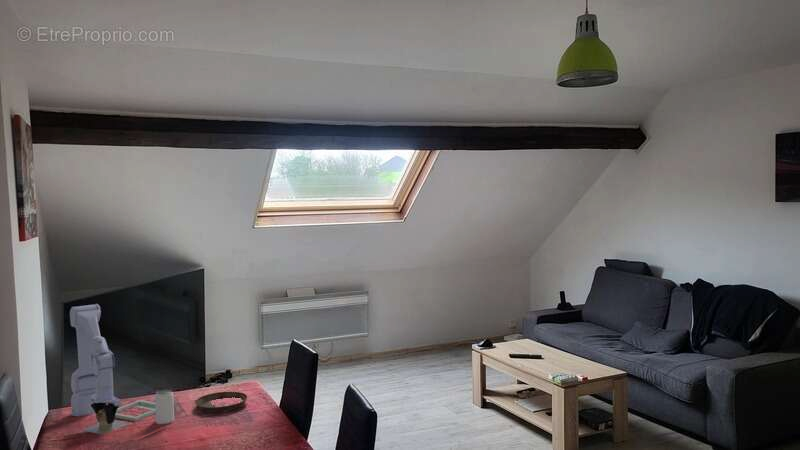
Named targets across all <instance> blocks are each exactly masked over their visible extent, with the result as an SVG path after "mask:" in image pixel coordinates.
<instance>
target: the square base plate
mask: <svg viewBox="0 0 800 450" xmlns="http://www.w3.org/2000/svg"><path fill="white" fill-rule="evenodd" d="M131 424H132V422H127V421H121V420H118V419H117V420H116V419H114V422H113V426H112V427H110V428H106V429H101V428H99V422H97V423H95V424H92V425H90V426H87V427H84V428H82V429H80V431H84V432H88V433H94V434H97V435H103V436H104V435H106V434H109V433H111V432H114V431H116V430H118V429H121V428H123V427H125V426H128V425H131Z"/></svg>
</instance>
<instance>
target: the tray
mask: <svg viewBox="0 0 800 450" xmlns="http://www.w3.org/2000/svg"><path fill="white" fill-rule="evenodd" d="M132 408H141V409H146V410H150V411H147V412H144V413H142V414H139V415H137V416H133V415H129V414H123V413H121V412H123V411H126V410H128V409H132ZM152 415H156V411H155V401H154V402H153V401H147V400H143V399H142V400H140V399H139V400H137V401H134V402H131V403H129V404H126V405H124V406H123V405H122V406H121V407H120V406H119V407H118V409H117V411H116V414H115V418H116V419H121V420H126V421H132V422H138V421H140V420H143V419H145V418H148V417H150V416H152ZM115 418H114V419H115Z"/></svg>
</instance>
